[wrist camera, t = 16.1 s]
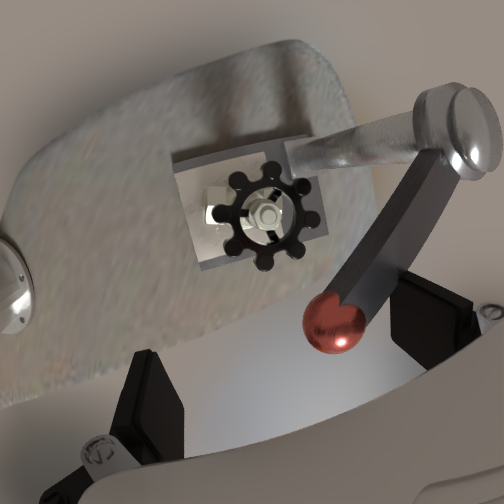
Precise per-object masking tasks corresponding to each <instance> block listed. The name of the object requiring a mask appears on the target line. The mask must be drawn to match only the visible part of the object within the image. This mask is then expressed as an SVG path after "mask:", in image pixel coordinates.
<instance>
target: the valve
mask: <svg viewBox="0 0 504 504" xmlns="http://www.w3.org/2000/svg"><path fill="white" fill-rule="evenodd" d="M260 171H262V178H261V179H259V180H256V181H253V182H251V181H249V180H248V177H247V176H246V174H245V173H243V172H241V171H236V172H233V173H231V174H230V175H229V176H228V178H227V185H228V187H227V188H226V187H220V186H207V188H206V198H205V223H206V224H220V225H224V224H227V225H228V226H230V227H231V228H232V230H233V236H232V237H231V238H229V239H225V240H224V242H223V249H224V251H225V253H226V255H227V256H229V257H231V258H236V257H238V256H240V255H241V254H242V252H243V250H245V249H250V250H252V251H254V252H255V253H256V257H255V258H254V259H253V262H254V264H255V266H256V267H257V268H258V269H259V270H260V271H263V272H267V271H269V270H271V269H272V268H273V266H274V259H273V256H274V254H275V253H277V252H279V251H282V250H285V251H286V254H287V255H288V256H290V257H291V258H292V259H295V260H297V259H301V258H302V257H303V256H304V254H305V251H306V249H305V246H304V244H303V243H301V242H300V241H299V239H298V236H299V234H300V232H301V230H302V229H303V228H305V227H306V228H309V229H315V228H317V227H318V226H319V224H320V222H321V217H320V215H319V213H317V212H316V211H312V210H307V211H306V210H304V208H303V205H302V198H303V197H304V196H306V195H308V194H309V193H310V192H311V189H312V185H311V182H310V181H309V180H308V179H306V178H295V179H293V183H292V184H291V185H288V184H286V183H284V182H282V181H281V179H280V176H281V173H282V167H281V165H280V164H279V163H278V162H276V161H268V162H265V163H264V164H262V166H261V168H260ZM264 188H272V189H274V190H263V189H264ZM282 195H285V196H286V198H287V199H288V200H289V202H290V204H291V206H292V210H293V219H292V224H291V227H290V229H289V230H288V232H287V233H286V234H285V235H284V236H283V237H282V238H279V237H278V235H277V234H276V232H275V229H276V227H278V225H279V223H280V221H281V220H282V218H283V217H282V210H283V200H282ZM252 227H254V228H256V229H258V230H260V231H265V232H266V234H267V236H268V238H269V240H270V241H271V243H259V242H256V241H254V240H252V239H250V238H249V237H248V236H247V235H246V234H245V232H244V231H243V229H249V228H252Z"/></svg>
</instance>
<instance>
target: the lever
mask: <svg viewBox="0 0 504 504" xmlns="http://www.w3.org/2000/svg"><path fill="white" fill-rule="evenodd" d="M463 89H467V87H466V86H464V85H462V84H460V83H456V82H452V83H448V84H445V85H441V86H438V87H434V88H431V89H428V90H425V91H423V92H422V93H421V94H420V95H419V96H418V98H417V99H416V102H415V104H414V108H413V116H412V123H413V131H414V137H415V140H416V144H417V147H418V149H419V152H418V154H417V156H416V157H415V159H414V161H413V162H412V164H411V166H410V167H409V169H408V171H407V172H406V174H405V176H404V177H403V179H402V180H401V182H400V183H399V185H398V186H397V188H396V190H395V191H394V193H393V194H392V196H391V197H390V199H389V200H388V202H387V203H386V205H385V207H384V208H383V209H382V211H381V213H380V214H379V215H378V217H377V218H376V220H375V221H374V223H373V224H372V226H371V227H370V229H369V230H368V231H367V233H366V234H365V236H364V237H363V239H362V240H361V241H360V243H359V244H358V246H357V247H356V248H355V250H354V251H353V253H352V254H351V255H350V257H349V258H348V259H347V261H346V262H345V264H344V265H343V266H342V268H341V269H340V270H339V272H338V273H337V274H336V276H335V277H334V278H333V280H332V281H331V282H330V284H329V285H328V286H327V288H326V289H325V290H324V291H323V293H321V294H319V295H317V296H316V297H315V298H313V299H312V300H311V301H310V303H309V304H308V306H307V307H306V309H305V312H304V315H303V321H302V324H303V331H304V334H305V337H306V339H307V340H308V342H309V343H310V344H311V345H312V346H313V347H314V348H316V349H317V350H319V351H321V352H323V353H327V354H340V353H343V352H346V351H348V350H350V349H351V348H353V347H354V346H355V345H356V344H357V343H358V342H359V341H360V339H361V338H362V336H363V334H364V332H365V328H366V327H367V325H368V324H369V323H370V321H371V320H372V319H373V318H374V316H375V315H376V314H377V312H378V311H379V310H380V308H381V307H382V306H383V304H384V303H385V302H386V300H387V299H388V297H389V296H390V295H391V293H392V292H393V290H394V289H395V288H396V286H397V285H398V281H399V280H401V279H402V276H404V274H405V273H406V271H407V270H408V268H409V267H410V265H411V264H412V262H413V261H414V259H415V258H416V256H417V254H418V253H419V251H420V250H421V248H422V247H423V245H424V243H425V242H426V240H427V238H428V237H429V235H430V233H431V232H432V230H433V228H434V226H435V225H436V223H437V221H438V219H439V217H440V216H441V214H442V212H443V210H444V208H445V206H446V205H447V203H448V201H449V199H450V197H451V195H452V193H453V191H454V189H455V187H456V185H457V183H458V181H459V180H471V181H474V180H479V179H481V178H482V177H483V176H484V175H485V174H486V172H477V171H474V170H472V169H470V168H469V167H468V166H467V165H466V164H465V163H464V161H463V160H462V158H461V157H460V155H459V153H458V151H457V149H456V146H455V143H454V140H453V137H452V133H451V129H450V122H449V106H450V101H451V98H452V96H453V95H454V93H455V92H457V91H458V90H463Z"/></svg>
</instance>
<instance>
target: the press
mask: <svg viewBox="0 0 504 504" xmlns="http://www.w3.org/2000/svg"><path fill="white" fill-rule="evenodd" d="M412 116H413V111H409V112H405V113H402V114H398V115H394V116H391V117H387V118H384V119H380V120H377V121H373V122H370V123H366V124H363V125H360V126H356V127H353V128H350V129H347V130H344V131H341V132H338V133H335V134H332V135H329V136H326V137H323V138H320V136H315V137H309V138H308V135H307V134H302V135H296V136H291V137H285V138H280V139H274V140H269V141H264V142H259V143H254V144H250V145H245V146H240V147H236V148H232V149H227V150H223V151H219V152H215V153H211V154H207V155H203V156H199V157H196V158H192V159H188V160H185V161H181V162H177V163H174V164H172V167H173V171H174V175H175V179H176V183H177V186H178V190H179V194H180V198H181V202H182V205H183V209H184V213H185V216H186V220H187V223H188V227H189V230H190V234H191V237H192V241H193V244H194V248H195V251H196V255H197V258H198V261H199V264H200V268H201V271H204V270H208V269H211V268H215V267H218V266H222V265H225V264H228V263H232V262H235V261H239V260H242V259H246V258H249V257H253V256H256V253H255V252H254V251H252V250H250V249H245V250H243V252H242V254H241V255H240V256H238V257H236V258H231V257H229V256H227V255H226V253H225V251H224V249H223V242H224V240H225V239H229V238H231V237H232V236H233V230H232V228H231V227H230V226H228V225H227V224H224V225H220V224H206V223H205V198H206V188H207V186H220V187H226V188H227V187H228V185H227V178H228V176H229V175H230V174H231V173H233V172H236V171H241V172H243V173H245V174H246V176H247V177H248V180H249V181H251V182H253V181H256V180H259V179H261V178H262V171H260V168H261V166H262V164H264V163H265V162H268V161H276V162H278V163H279V164H280V165H281V167H282V173H281V176H280V179H281V181H282V182H284V183H286V184H288V185H291V184H292V183H293V179H295V178H306V179H308V180H309V181H310V182H311V185H312V189H311V192H310V193H309V194H308V195H306V196H304V197H303V198H302V205H303V208H304V210H306V211H307V210H312V211H316V212H317V213H319V215H320V217H321V222H320V224H319V226H318V227H317V228H315V229H309V228H306V227H305V228H303V229H302V230H301V232H300V234H299V236H298V239H299V241H300V242H304V241H308V240H311V239H315V238H318V237H321V236H325V235H328V234H329V233H328V228H327V222H326V217H325V212H324V206H323V201H322V196H321V192H320V187H319V182H318V177H317V175H322V174H327V173H328V169H335V168H346V167H358V166H372V165H387V164H407V163H412V162H413V161H414V159H415V157H416V156H417V154H418V152H419V149H418V147H417V144H416V140H415V137H414V131H413V123H412ZM449 122H450V129H451V133H452V137H453V140H454V143H455V146H456V149H457V151H458V153H459V155H460V157H461V158H462V160H463V161H464V163H465V164H466V165H467V166H468V167H469V168H470V169H472V170H474V171H477V172H492V171H494V170H495V169H496V168H497V167H498V165H499V163H500V160H501V157H502V150H503V139H502V131H501V127H500V123H499V119H498V117H497V114H496V112H495V109H494V108H493V106H492V104H491V102H490V101H489V99H488V98H487V97H486V96H485V95H484V94H483V93H482V92H481V91H480V90H478V89H476V88H467V89H463V90H458V91H457V92H455V93H454V95H453V96H452V98H451V101H450V106H449ZM263 190H274V189H272V188H264V189H263ZM282 200H283V210H282V217H283V218H282V220H281V221H280V223H279V225H278V227H276V229H275V232H276V234H277V235H278V237H279V238H282V237H283V236H284V235H285V234H286V233H287V232H288V230H289V229H290V227H291V224H292V219H293V210H292V206H291V204H290V202H289V200H288V199H287V198H286V196H285V195H282ZM243 231H244V232H245V234H246V235H247V236H248V237H249V238H250V239H252V240H254V241H256V242H259V243H271V241H270V240H269V238H268V236H267V234H266V232H265V231H260V230H258V229H256V228H254V227H252V228H249V229H243Z"/></svg>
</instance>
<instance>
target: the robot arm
mask: <svg viewBox="0 0 504 504" xmlns="http://www.w3.org/2000/svg"><path fill="white" fill-rule="evenodd" d="M33 310H34V290H33V285H32V281H31V278H30V275H29V272H28V269H27V267H26V265H25V263H24V261H23V260H22V258H21V257H20V255H19V254H18V252H17V251H16V250H15V249H14V248H13V247H12V246H11V245H10V244H9V243H8V242H6V241H4V240H3V239H1V238H0V333H2V334H8V335H10V334H16V333H18V332H20V331H21V330H22V329H24V328H25V327H26V325H27V324H28V323H29V321H30V319H31V317H32V314H33ZM390 321H391V338H392V340H393V341H394V342H395V343H396V344H397V345H398V346H399V347H400V348H402V349H403V350H404V351H405V352H406V353H408V354H409V355H410V356H411V357H412V358H413V359H415V360H416V361H417V362H418V363H419V364H420V365H422V366H423V367H424V368H425V369H426V370H427V371H426V372H425V373H423V374H421V375H419V376H418V377H416V378H414V379H412V380H410V381H409V382H407V383H405V384H403V385H401V386H399V387H397V388H395V389H394V390H392V391H389V392H388V393H386V394H384V395H381V396H379V397H377V398H375V399H373V400H371V401H369V402H367V403H365V404H363V405H360V406H358V407H356V408H354V409H351V410H349V411H347V412H344V413H342V414H339V415H337V416H335V417H332V418H329V419H327V420H325V421H322V422H319V423H316V424H314V425H311V426H308V427H305V428H303V429H300V430H297V431H294V432H291V433H288V434H285V435H282V436H279V437H275V438H272V439H268V440H265V441H261V442H257V443H254V444H250V445H246V446H242V447H239V448H234V449H229V450H225V451H220V452H216V453H211V454H205V455H200V456H195V457H189V458H184V407H183V404H182V402H181V400H180V399H179V396H178V395H177V393H176V391H175V389H174V387H173V385H172V383H171V381H170V379H169V377H168V375H167V373H166V371H165V369H164V367H163V364H162V362H161V360H160V358H159V356H158V354H157V352H152V351H151V350H150V349H147V350H142V351H138V352H135V353H134V356H133V359H132V362H131V365H130V368H129V372H128V375H127V378H126V381H125V384H124V387H123V389H122V391H121V394H120V398H119V401H118V404H117V408H116V411H115V414H114V418H113V422H112V425H111V429H110V432H109V435H99V436H96V437H94V438H92V439H90V440H89V441H88V442H87V443H86V444H85V445H84V446H83V448H82V450H81V453H80V457H81V461H82V463H83V466H81V467H80V468H79V469H77V470H76V471H74V472H73V473H71V474H70V475H68V476H67V477H65V478H64V479H63V480H61V481H59V482H58V483H57V484H55V485H54V486H52V487H50V488H49V489H48V490H46V491H45V492H44V493H43V495H42V496H41V498H40V501H39V504H504V304H501V303H499V302H485V303H482V304H480V305H479V306H478V307H477V309H476V312H475V311H473V302H472V301H470V300H468V299H466V298H464V297H462V296H460V295H458V294H456V293H454V292H452V291H449V290H447V289H446V288H443V287H441V286H439V285H437V284H435V283H433V282H431V281H428V280H427V279H425V278H422V277H420V276H418V275H416V274H414V273H412V272H409V271H406V273H405V274H404V276H402V279H401V280H399V281H398V285H397V286H396V288H395V289H394V290H393V292H392V293H391V295H390Z"/></svg>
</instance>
